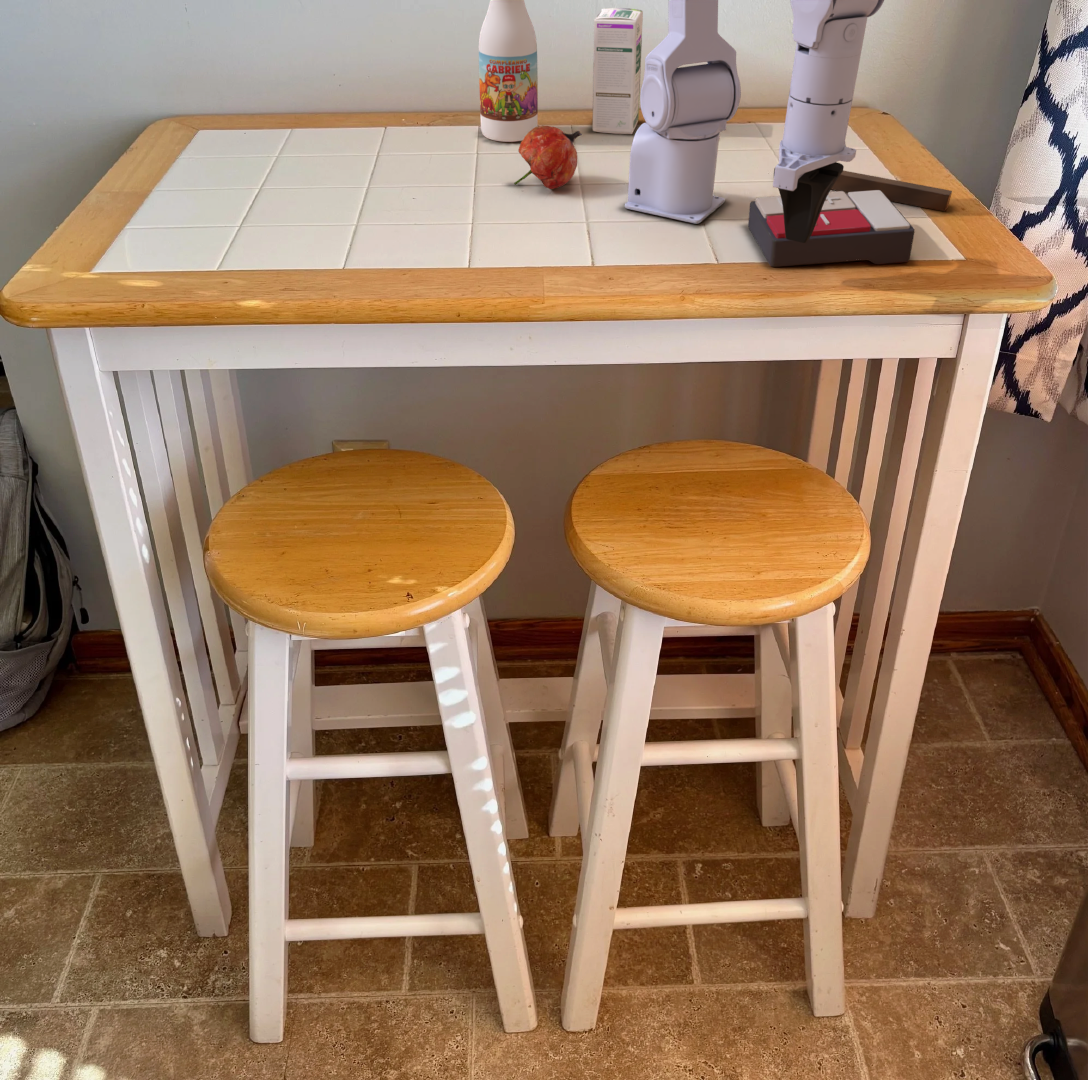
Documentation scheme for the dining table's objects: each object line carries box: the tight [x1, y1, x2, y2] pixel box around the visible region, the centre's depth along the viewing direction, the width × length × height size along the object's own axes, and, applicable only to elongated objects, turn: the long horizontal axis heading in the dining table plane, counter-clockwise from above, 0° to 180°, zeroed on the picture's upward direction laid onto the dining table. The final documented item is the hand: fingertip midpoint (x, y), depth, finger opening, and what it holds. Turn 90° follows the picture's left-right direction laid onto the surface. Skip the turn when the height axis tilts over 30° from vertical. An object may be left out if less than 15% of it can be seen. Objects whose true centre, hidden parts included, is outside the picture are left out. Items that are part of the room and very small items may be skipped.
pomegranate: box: [513, 124, 583, 190], centre depth 125 cm, size 7×7×10 cm
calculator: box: [747, 190, 916, 268], centre depth 113 cm, size 11×4×15 cm
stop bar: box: [831, 169, 953, 212], centre depth 125 cm, size 20×2×2 cm, turn 60°
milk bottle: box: [478, 0, 539, 143], centre depth 136 cm, size 8×8×20 cm
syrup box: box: [591, 7, 644, 135], centre depth 140 cm, size 6×6×14 cm
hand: (797, 238), depth 104 cm, fingers closed
